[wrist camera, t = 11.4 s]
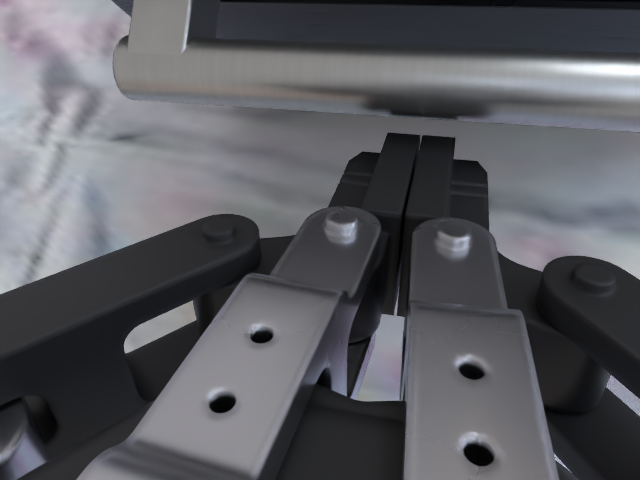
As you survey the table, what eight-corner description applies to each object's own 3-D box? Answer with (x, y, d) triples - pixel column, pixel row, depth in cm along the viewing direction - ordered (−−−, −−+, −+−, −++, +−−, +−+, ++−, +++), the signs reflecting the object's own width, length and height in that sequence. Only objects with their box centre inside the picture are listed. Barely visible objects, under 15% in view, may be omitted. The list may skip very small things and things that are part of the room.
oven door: (682, 217, 19) (1146, 117, 7) (220, 174, 23) (-28, 59, 11) (696, 87, 19) (1172, -245, 7) (234, 66, 23) (6, -173, 11)
